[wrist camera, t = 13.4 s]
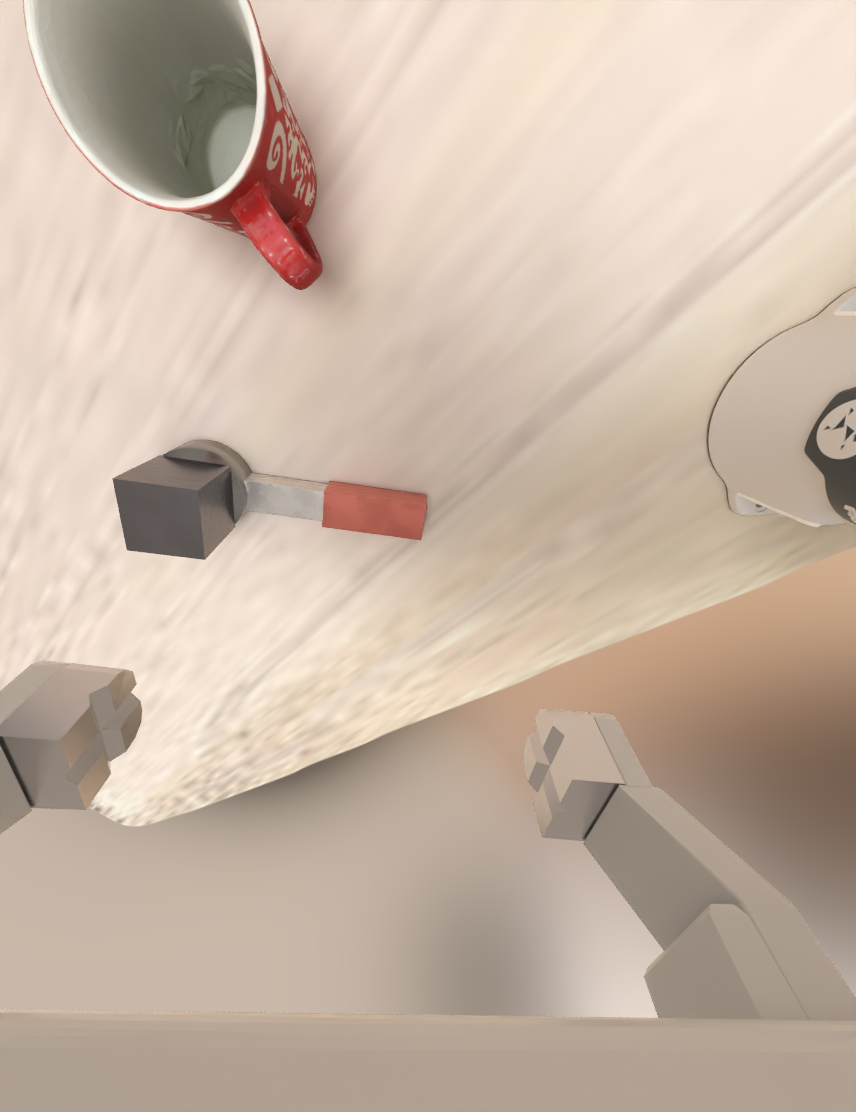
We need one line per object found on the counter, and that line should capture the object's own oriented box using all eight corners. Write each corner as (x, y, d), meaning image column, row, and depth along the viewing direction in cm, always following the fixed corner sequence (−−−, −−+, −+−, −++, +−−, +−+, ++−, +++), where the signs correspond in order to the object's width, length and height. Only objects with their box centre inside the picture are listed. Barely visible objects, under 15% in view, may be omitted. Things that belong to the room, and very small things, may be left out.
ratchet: (429, 473, 38) (433, 503, 32) (417, 546, 42) (418, 586, 35) (163, 433, 36) (106, 456, 29) (174, 514, 39) (126, 551, 33)
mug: (160, 143, 27) (-37, -3, 15) (268, 42, 25) (138, -216, 13) (286, 332, 32) (213, 333, 21) (383, 261, 30) (364, 217, 19)
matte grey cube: (231, 465, 34) (197, 490, 29) (234, 526, 37) (205, 559, 32) (159, 455, 34) (112, 478, 28) (168, 518, 36) (127, 550, 31)
